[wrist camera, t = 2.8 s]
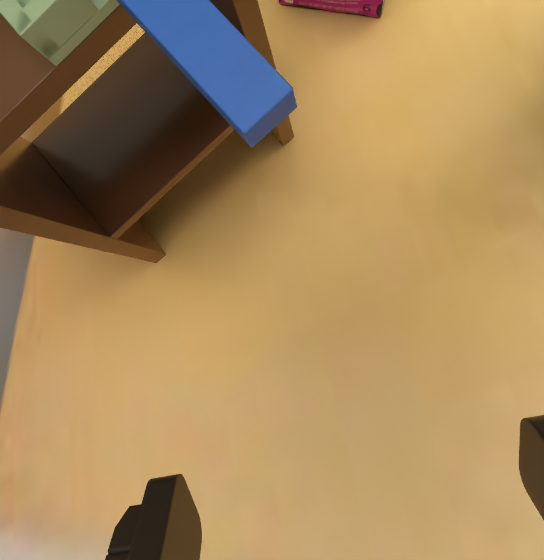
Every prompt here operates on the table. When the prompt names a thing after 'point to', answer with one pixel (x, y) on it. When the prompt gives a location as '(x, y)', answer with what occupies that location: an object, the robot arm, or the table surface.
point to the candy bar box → (342, 6)
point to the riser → (106, 134)
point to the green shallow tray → (55, 22)
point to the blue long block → (217, 63)
